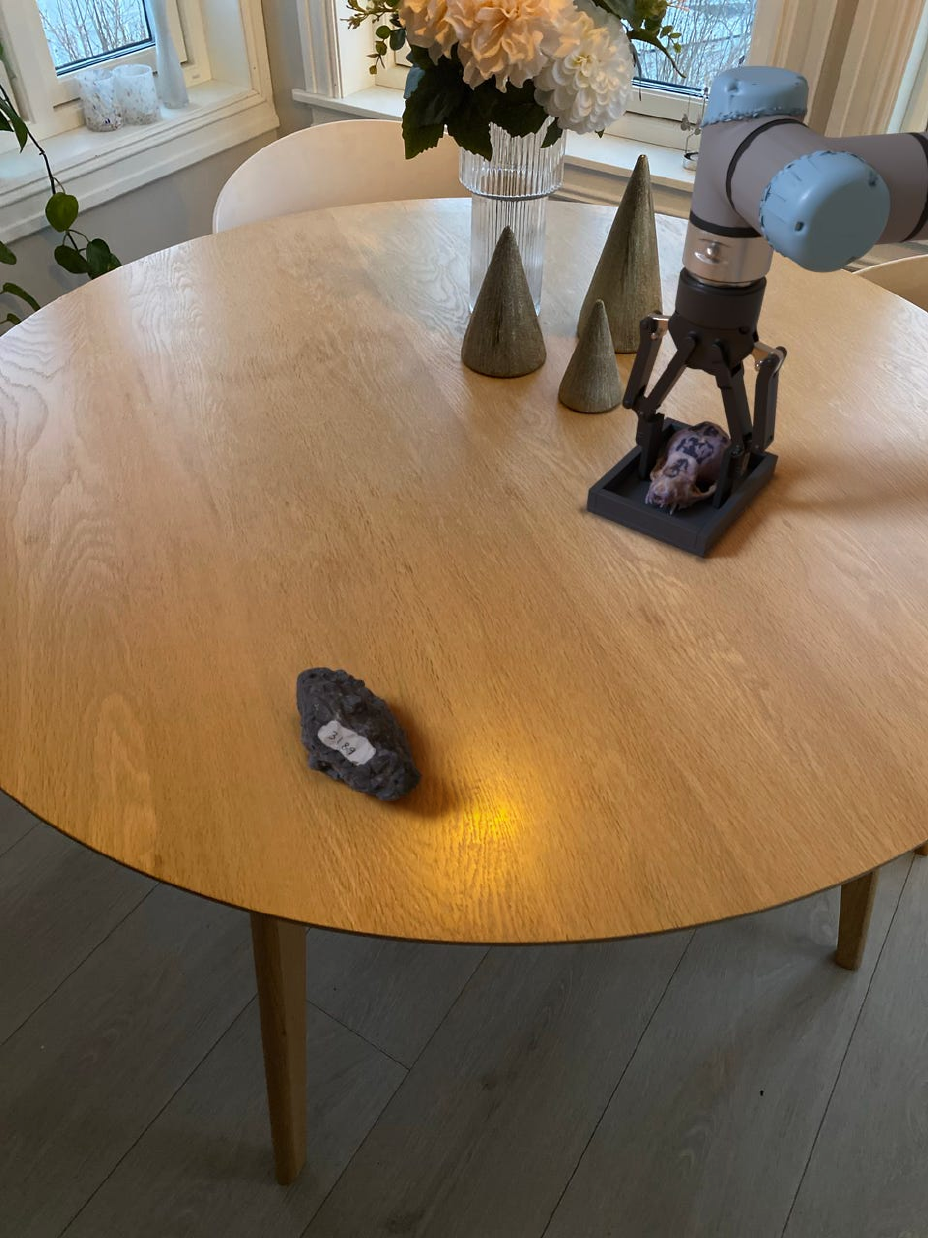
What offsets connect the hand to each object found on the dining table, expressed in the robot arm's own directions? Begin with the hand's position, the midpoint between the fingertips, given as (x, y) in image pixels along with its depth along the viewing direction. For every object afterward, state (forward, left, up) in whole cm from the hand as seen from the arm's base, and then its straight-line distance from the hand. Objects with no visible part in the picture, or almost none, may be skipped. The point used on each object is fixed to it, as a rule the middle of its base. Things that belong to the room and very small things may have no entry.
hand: (683, 486), depth 99 cm
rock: (+5, +46, -1) cm, 46 cm away
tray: (0, 0, -1) cm, 1 cm away
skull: (0, 0, 0) cm, 1 cm away
